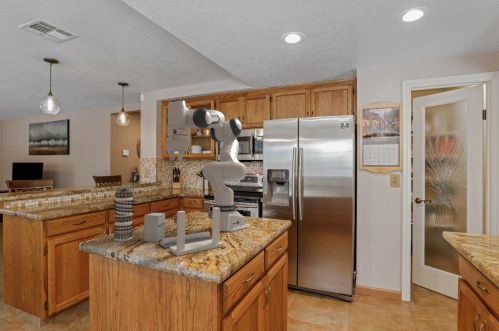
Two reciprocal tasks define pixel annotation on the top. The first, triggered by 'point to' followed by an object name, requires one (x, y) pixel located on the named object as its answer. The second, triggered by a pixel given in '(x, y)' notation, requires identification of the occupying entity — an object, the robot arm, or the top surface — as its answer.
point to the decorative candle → (123, 214)
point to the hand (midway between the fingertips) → (176, 160)
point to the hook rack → (200, 245)
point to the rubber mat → (185, 242)
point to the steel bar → (187, 238)
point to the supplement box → (154, 227)
